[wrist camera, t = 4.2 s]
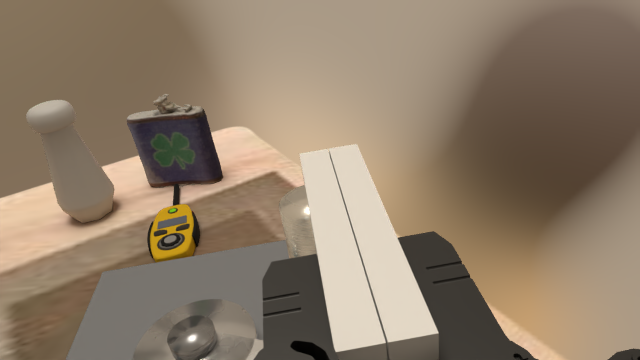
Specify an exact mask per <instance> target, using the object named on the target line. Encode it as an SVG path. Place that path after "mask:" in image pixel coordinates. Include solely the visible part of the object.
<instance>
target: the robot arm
mask: <svg viewBox="0 0 640 360" xmlns="http://www.w3.org/2000/svg"><path fill="white" fill-rule="evenodd" d="M329 154H330V155H329ZM300 160H301V166H302V172H303V178H304V184H305V190H306V195H307V201H308V207H309V213H310V219H311V225H312V231H313V237H314V242H315V248H316V254H312V255H306V256H301V257H295V258H290V259H284V260H278V261H273V262H271V264H270V266H269V268H268V269H267V271H266V273H265V275H264V277H263V279H262V295H263V349H261V350H260V351H259V352H258V354H257V355H256V357H255V358H254V360H538V359H535V358H533V356H532V355H531V354H530V353H529V352H528V351H527V350H526V349H524V348H522V347H521V346H519V345H517V344H516V343H514V342H512V341H510V340H509V339H508V338H507V336H506V335H505V334H504V332H503V331H502V329H501V327H500V326H499V324H498V322H497V320H496V319H495V317H494V315H493V314H492V312H491V310H490V309H489V307H488V305H487V303H486V302H485V300H484V298H483V297H482V295H481V293H480V292H479V290H478V288H477V286H476V285H475V283H474V281H473V280H472V279H471V278H470V275H469V273H468V271H467V269H466V268H465V266H464V265H462V261H461V259H460V258H459V256H458V254H457V252H456V251H455V249H454V247H453V246H452V244H451V243H449V242H448V241H446V240H445V239H444V238H442V237H441V236H439V235H438V234H437V233H435V232H427V233H422V234H416V235H410V236H405V237H399V238H397V236H396V233H395V231H394V229H393V227H392V224H391V222H390V220H389V217H388V215H387V213H386V210H385V208H384V206H383V204H382V201H381V199H380V196H379V194H378V192H377V190H376V187H375V185H374V183H373V180H372V178H371V176H370V173H369V171H368V169H367V166H366V164H365V162H364V160H363V157H362V155H361V153H360V150H359V148H358V146H357V144H354V145H348V146H342V147H337V148H330V149H329V152H328V149H324V150H318V151H313V152H307V153H301V154H300ZM608 360H640V349H630V350H625V351H621V352H617V353H616V354H614V355H613V356H612V357H611V358H610V359H608Z"/></svg>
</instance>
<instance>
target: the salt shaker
mask: <svg viewBox="0 0 640 360" xmlns="http://www.w3.org/2000/svg"><path fill="white" fill-rule="evenodd" d="M26 117H27V121H28V123H29V125H30V127H31V129H32V130H33V131H34V132H35V133H40V134H41V138H42V142H43V146H44V150H45V154H46V158H47V162H48V166H49V170H50V174H51V177H52V182H53V186H54V190H55V194H56V198H57V202H58V204H59V205H60V207H61V208H62V210H63V211H64V212H66V213H67V214H69V215H70V216H72V217H73V218H74V219H76V220H78V221H80V222H81V223H86V222H90V221H95V220H99V219H101V218H102V217H104V216H105V215H106V214H108V213H109V212H110V211H112V205H113V195H114V185H113V184H112V182H111V181H110V179H109V178H108V177H107V175H106V174H105V172H104V171H103V169H102V168H101V166H100V165H99V164H98V162H97V161H96V159H95V158H94V156H93V155H92V153H91V152H90V150H89V149H88V147H87V146H86V144H85V143H84V141H83V140H82V138H81V137H80V135H79V134H78V132H77V131H76V129H75V127H74V126H73V123H74V122H75V120H76V114H75V111H74V109H73V108H72V106H71V104H70V103H68V102H66V101H64V100H53V101H48V102H44V103H41V104H38V105H36V106H34V107H33V108H31V109H30V110H29V111H28V113H27V115H26Z"/></svg>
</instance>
